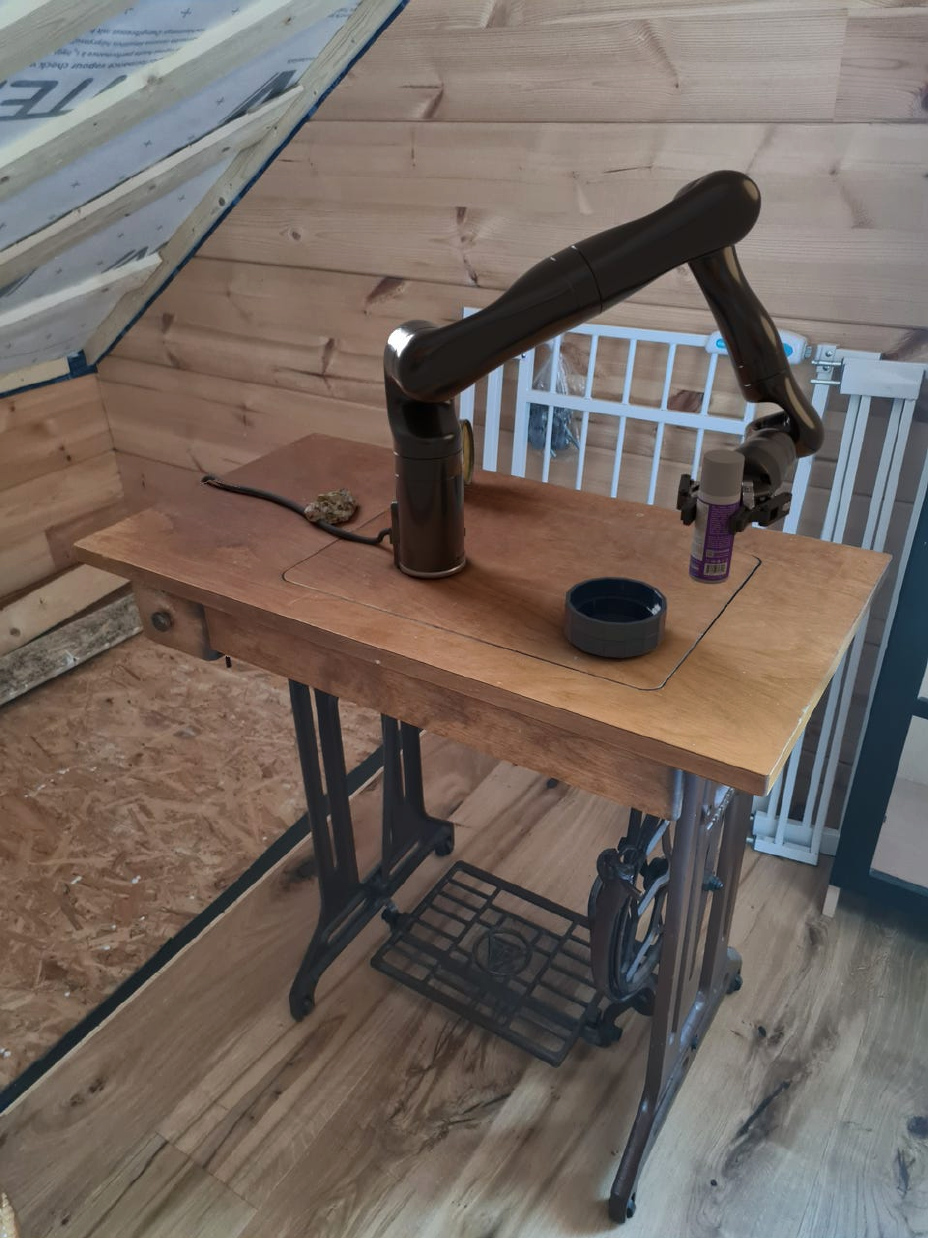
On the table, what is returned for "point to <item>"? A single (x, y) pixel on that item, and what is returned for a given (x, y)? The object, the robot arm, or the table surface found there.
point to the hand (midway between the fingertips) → (709, 522)
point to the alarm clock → (467, 450)
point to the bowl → (615, 617)
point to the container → (715, 516)
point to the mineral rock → (331, 507)
